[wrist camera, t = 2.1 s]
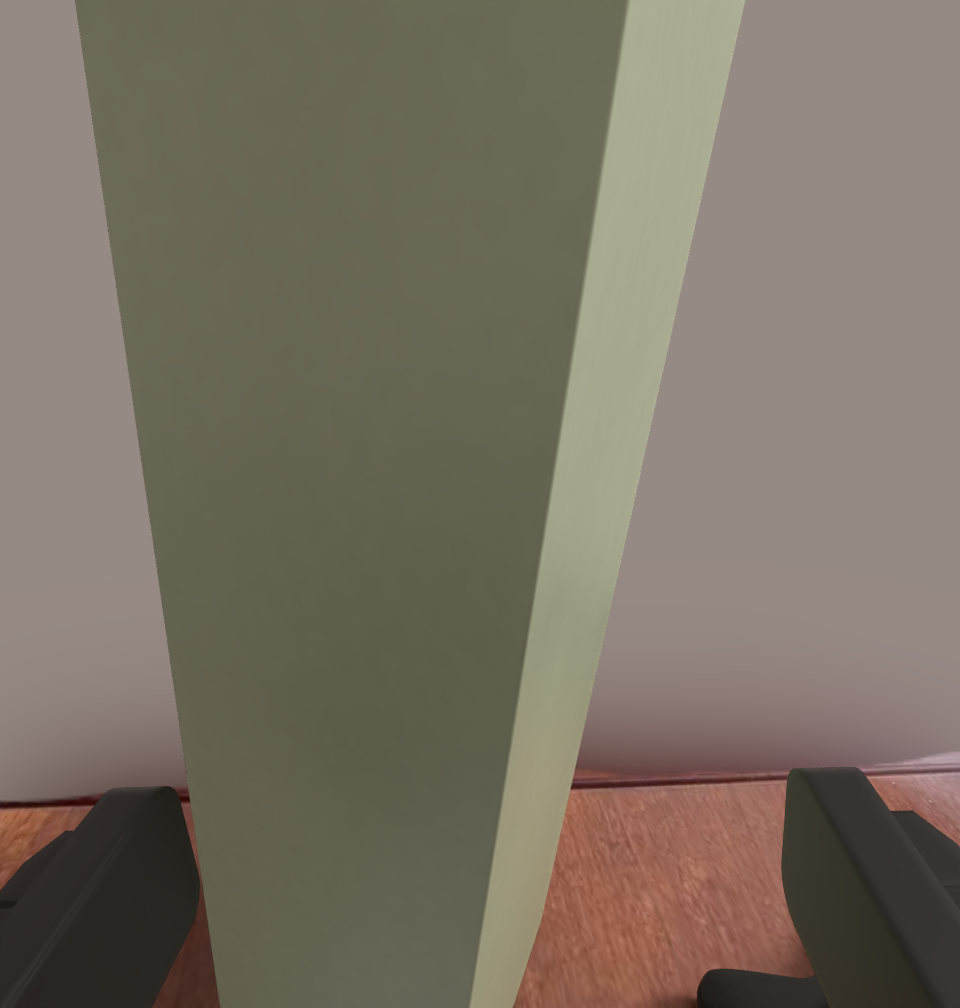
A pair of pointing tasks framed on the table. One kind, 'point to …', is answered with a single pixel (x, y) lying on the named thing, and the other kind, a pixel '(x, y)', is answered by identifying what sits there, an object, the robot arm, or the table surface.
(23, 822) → the table surface
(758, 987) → the game controller
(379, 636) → the pillar
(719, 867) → the table surface
